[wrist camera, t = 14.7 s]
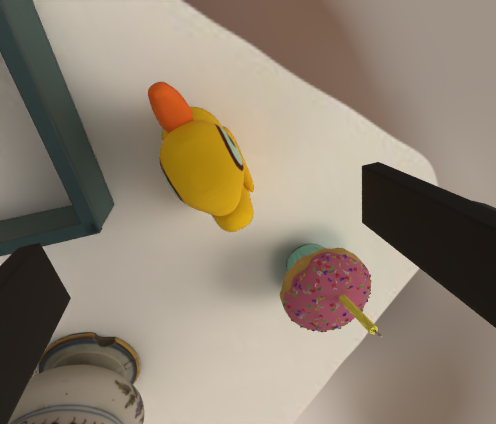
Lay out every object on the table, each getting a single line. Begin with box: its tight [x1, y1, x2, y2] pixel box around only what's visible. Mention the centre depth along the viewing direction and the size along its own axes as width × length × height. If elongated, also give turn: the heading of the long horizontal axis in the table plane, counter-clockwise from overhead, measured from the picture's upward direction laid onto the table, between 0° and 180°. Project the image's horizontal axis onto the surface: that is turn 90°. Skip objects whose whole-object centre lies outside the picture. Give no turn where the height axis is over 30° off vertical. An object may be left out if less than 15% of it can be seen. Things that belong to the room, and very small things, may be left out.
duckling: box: [148, 82, 254, 232], centre depth 20 cm, size 11×5×10 cm, turn 25°
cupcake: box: [280, 244, 383, 338], centre depth 26 cm, size 9×8×12 cm
